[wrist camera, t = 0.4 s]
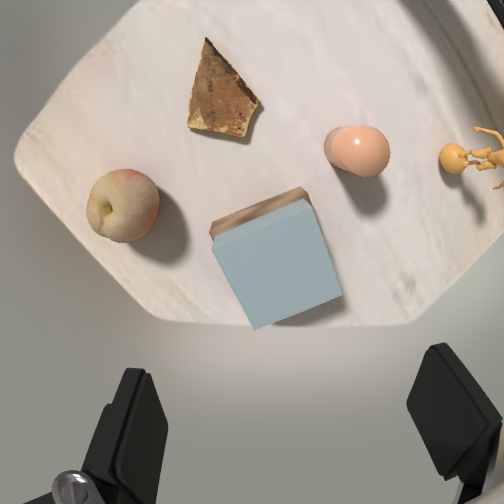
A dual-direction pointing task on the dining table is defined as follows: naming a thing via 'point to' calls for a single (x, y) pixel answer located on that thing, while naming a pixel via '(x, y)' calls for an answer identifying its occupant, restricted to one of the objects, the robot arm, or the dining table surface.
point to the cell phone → (498, 9)
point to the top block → (278, 264)
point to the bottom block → (257, 211)
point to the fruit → (123, 205)
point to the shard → (220, 96)
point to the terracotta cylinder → (358, 150)
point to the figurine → (457, 160)
